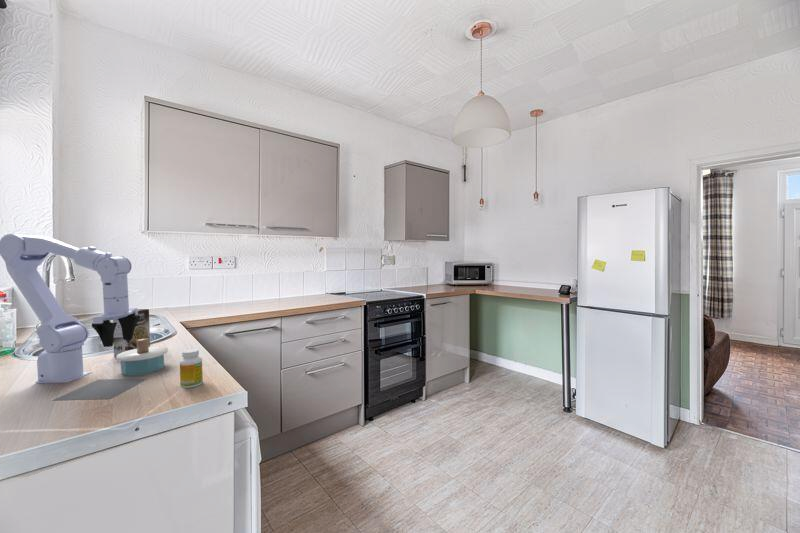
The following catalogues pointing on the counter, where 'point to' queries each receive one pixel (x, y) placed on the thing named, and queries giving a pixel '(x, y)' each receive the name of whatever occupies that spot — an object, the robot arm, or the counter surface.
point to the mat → (101, 389)
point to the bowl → (142, 366)
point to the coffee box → (139, 333)
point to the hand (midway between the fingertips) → (118, 342)
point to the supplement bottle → (191, 369)
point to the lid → (142, 352)
